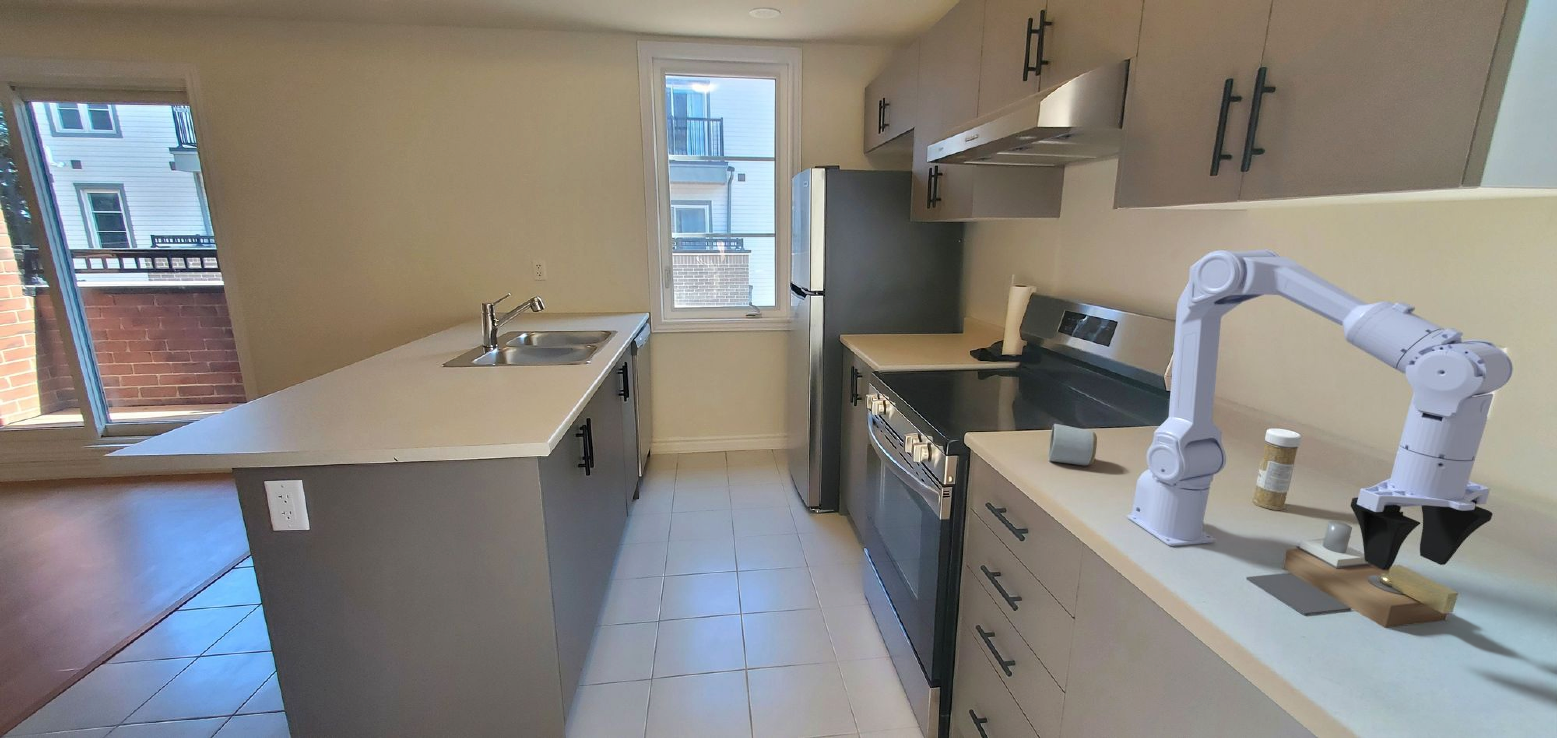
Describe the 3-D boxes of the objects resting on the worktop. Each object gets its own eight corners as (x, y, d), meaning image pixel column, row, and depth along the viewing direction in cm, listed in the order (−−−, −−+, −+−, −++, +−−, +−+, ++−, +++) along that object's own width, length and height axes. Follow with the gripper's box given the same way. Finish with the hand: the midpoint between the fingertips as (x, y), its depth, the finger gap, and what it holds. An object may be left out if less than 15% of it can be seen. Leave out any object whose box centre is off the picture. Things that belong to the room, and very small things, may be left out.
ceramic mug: (1094, 472, 119) (1099, 434, 117) (1049, 466, 122) (1053, 429, 120) (1088, 454, 129) (1092, 419, 127) (1046, 449, 131) (1050, 415, 130)
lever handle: (1374, 579, 78) (1379, 561, 77) (1387, 578, 78) (1392, 560, 77) (1440, 613, 71) (1446, 594, 70) (1454, 612, 71) (1460, 592, 71)
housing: (1281, 567, 86) (1285, 547, 85) (1334, 562, 88) (1339, 542, 87) (1385, 627, 74) (1391, 604, 73) (1445, 620, 75) (1452, 597, 74)
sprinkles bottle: (1253, 496, 108) (1268, 425, 105) (1286, 504, 105) (1302, 431, 102) (1250, 505, 105) (1265, 432, 102) (1284, 513, 102) (1300, 438, 99)
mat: (1246, 578, 83) (1246, 576, 83) (1289, 574, 84) (1290, 572, 84) (1303, 615, 76) (1304, 613, 76) (1350, 609, 77) (1351, 607, 77)
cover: (1299, 546, 86) (1306, 517, 84) (1329, 544, 86) (1336, 515, 85) (1336, 566, 81) (1344, 535, 80) (1367, 563, 82) (1375, 532, 80)
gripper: (1423, 469, 61) (1390, 588, 65) (1539, 461, 63) (1501, 577, 67) (1349, 444, 68) (1323, 553, 71) (1457, 438, 70) (1426, 544, 73)
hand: (1404, 562), depth 69 cm, fingers open, 7 cm apart
